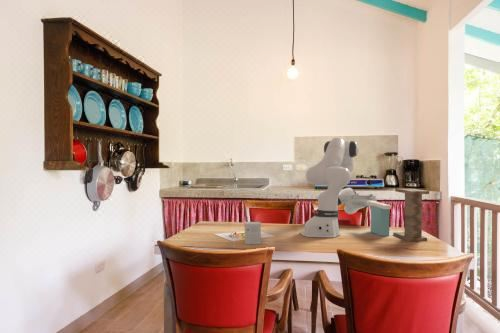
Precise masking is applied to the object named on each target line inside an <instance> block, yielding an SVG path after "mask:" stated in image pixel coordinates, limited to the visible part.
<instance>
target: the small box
mask: <svg viewBox="0 0 500 333" xmlns="http://www.w3.org/2000/svg"><path fill="white" fill-rule="evenodd" d="M261 226H262V225H261V221H246V222H245V223H244V245H261V242H262V238H261V237H262V236H261V230H262V229H261V228H262V227H261Z"/></svg>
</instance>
